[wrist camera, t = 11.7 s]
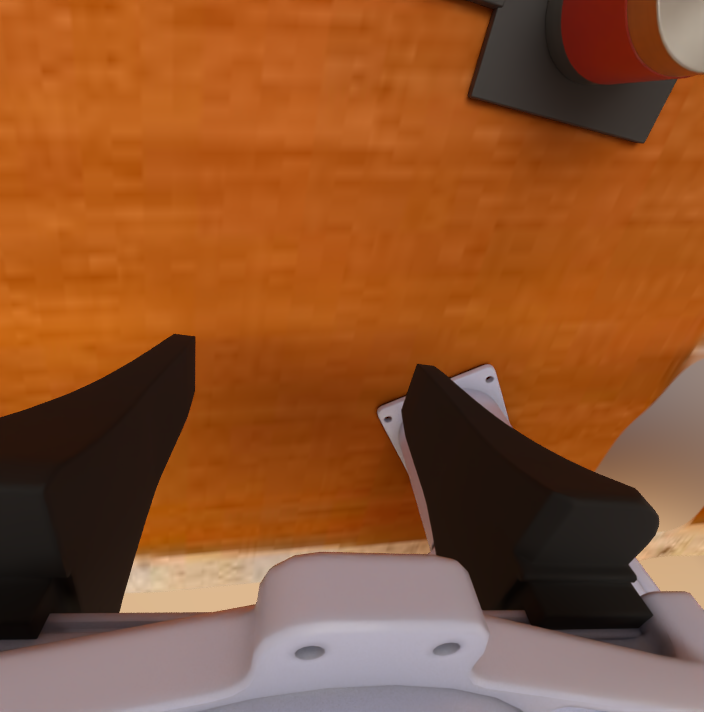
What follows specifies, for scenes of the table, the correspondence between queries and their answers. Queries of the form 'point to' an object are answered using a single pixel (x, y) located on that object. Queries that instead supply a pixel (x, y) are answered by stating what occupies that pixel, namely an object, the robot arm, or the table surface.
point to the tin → (626, 39)
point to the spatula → (556, 78)
